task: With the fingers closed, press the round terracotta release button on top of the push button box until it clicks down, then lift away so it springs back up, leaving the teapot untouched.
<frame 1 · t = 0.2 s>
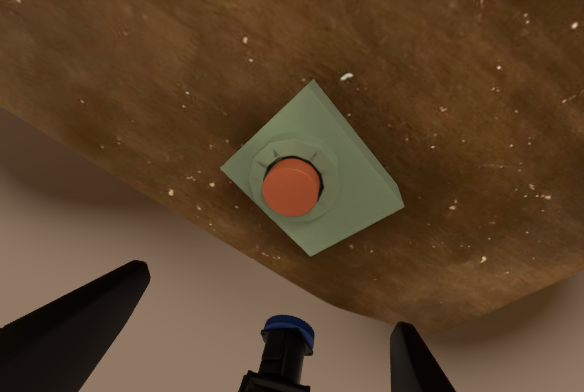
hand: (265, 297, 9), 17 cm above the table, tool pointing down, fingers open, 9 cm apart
push button box: (314, 168, 24), on the table
lid button: (291, 187, 19), point 6 cm above the table, slide at 0.1 cm
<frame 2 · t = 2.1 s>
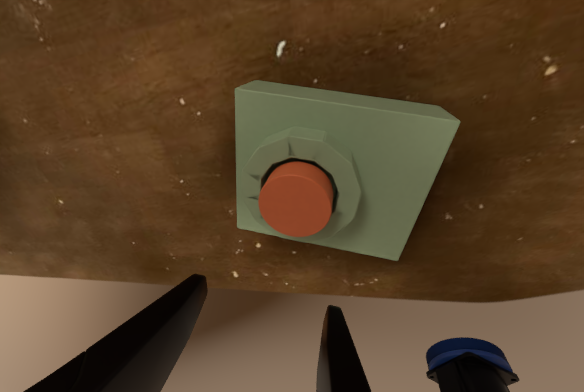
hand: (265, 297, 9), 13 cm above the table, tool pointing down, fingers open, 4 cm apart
push button box: (330, 162, 19), on the table
lid button: (296, 199, 14), point 6 cm above the table, slide at 0.1 cm
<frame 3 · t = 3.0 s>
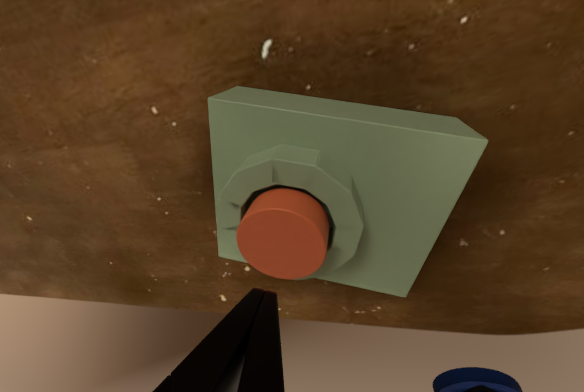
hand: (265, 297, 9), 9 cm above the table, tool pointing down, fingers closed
push button box: (326, 180, 17), on the table
lid button: (284, 234, 12), point 6 cm above the table, slide at 0.1 cm
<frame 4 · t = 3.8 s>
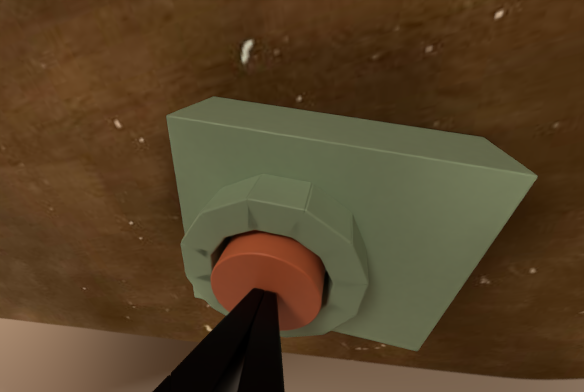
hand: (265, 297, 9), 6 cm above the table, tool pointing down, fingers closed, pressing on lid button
push button box: (322, 207, 14), on the table
lid button: (270, 277, 10), point 5 cm above the table, slide at -0.6 cm, touching gripper
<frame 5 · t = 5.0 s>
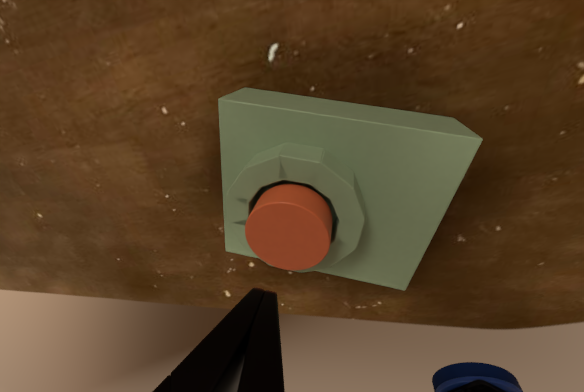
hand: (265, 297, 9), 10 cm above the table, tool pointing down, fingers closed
push button box: (329, 178, 17), on the table
lid button: (289, 227, 12), point 6 cm above the table, slide at 0.1 cm
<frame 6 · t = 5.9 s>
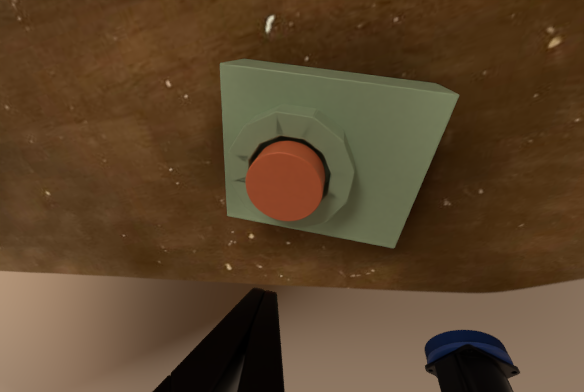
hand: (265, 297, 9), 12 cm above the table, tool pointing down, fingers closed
push button box: (323, 146, 18), on the table
lid button: (286, 181, 14), point 6 cm above the table, slide at 0.1 cm
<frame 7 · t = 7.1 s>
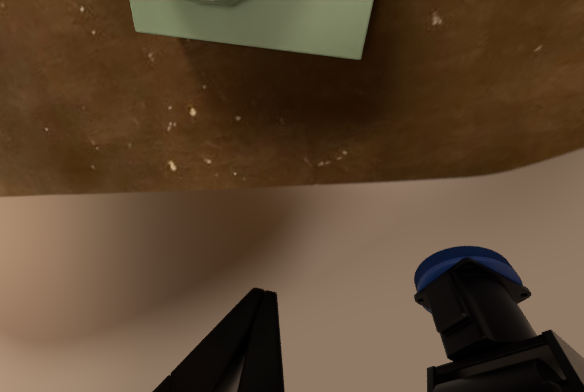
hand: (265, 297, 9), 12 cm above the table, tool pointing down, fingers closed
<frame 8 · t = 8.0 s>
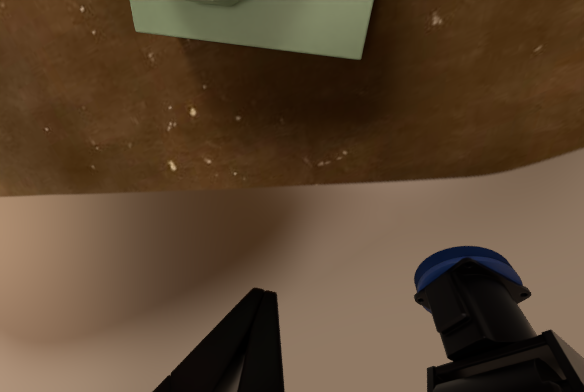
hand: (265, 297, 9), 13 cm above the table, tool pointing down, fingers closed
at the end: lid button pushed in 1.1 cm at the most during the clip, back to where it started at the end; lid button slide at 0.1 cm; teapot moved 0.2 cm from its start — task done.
